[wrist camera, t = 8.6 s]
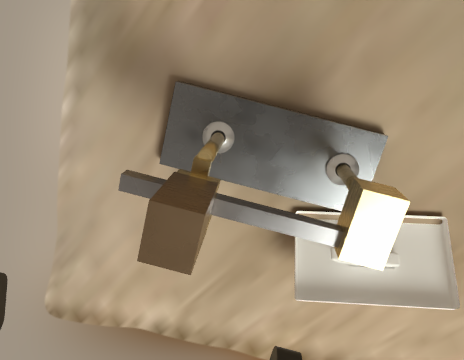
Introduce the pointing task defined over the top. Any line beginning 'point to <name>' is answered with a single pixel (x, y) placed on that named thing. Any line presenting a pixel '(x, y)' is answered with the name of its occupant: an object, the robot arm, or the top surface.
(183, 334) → the top surface
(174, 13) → the top surface
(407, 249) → the light switch
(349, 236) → the dividers frame
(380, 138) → the bolt plate
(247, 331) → the top surface
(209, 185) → the block
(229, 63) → the top surface
